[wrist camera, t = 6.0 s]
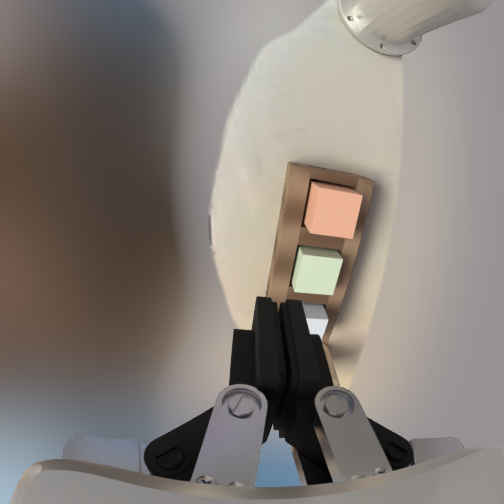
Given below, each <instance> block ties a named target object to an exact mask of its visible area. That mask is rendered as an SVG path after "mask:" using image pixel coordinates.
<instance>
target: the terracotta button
mask: <svg viewBox="0 0 504 504" xmlns="http://www.w3.org/2000/svg"><path fill="white" fill-rule="evenodd" d="M362 197H363V195H361V194H359V193H358V192H356V191H354V190H353V189H351V188H349V187H345V186H340V185H335V184H329V183H323V182H318V181H312V180H310V182H309V188H308V194H307V199H306V205H305V210H304V215H303V222H304V224H305V226H306V227H307V229H308V231H309V232H310V233H312V234H320V235H327V236H334V237H342V238H349V239H353V235H354V231H355V227H356V223H357V219H358V215H359V210H360V206H361V201H362Z"/></svg>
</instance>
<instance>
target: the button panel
mask: <svg viewBox="0 0 504 504" xmlns="http://www.w3.org/2000/svg"><path fill="white" fill-rule="evenodd" d="M310 180H312V181H318V182H323V183H329V184H335V185H340V186H345V187H349V188H351V189H353V190H354V191H356V192H358V193H359V194H361V195H363V197H362V201H361V206H360V210H359V215H358V219H357V223H356V227H355V231H354V235H353V239H349V238H342V237H334V236H327V235H320V234H312V233H310V232H309V231H308V229H307V227H306V226H305V224H304V222H303V215H304V210H305V205H306V199H307V194H308V188H309V182H310ZM373 186H374V181H372V180H370V179H368V178H365V177H363V176H359V175H355V174H350V173H345V172H341V171H336V170H330V169H325V168H320V167H314V166H309V165H303V164H297V163H290V162H288V166H287V172H286V178H285V185H284V191H283V197H282V204H281V210H280V216H279V222H278V228H277V234H276V240H275V246H274V252H273V257H272V263H271V269H270V275H269V280H268V286H267V291H266V297H270V298H272V302H277V307H278V311H279V306H280V303H281V302H285V301H286V299H295V300H301V301H302V302H304V303H317V304H323V306H324V309H325V312H326V314H327V317H328V319H329V320H328V323H327V326H326V329H325V332H324V334H323V337H322V340H321V341H322V343H328V341H329V338H330V335H331V333H332V330H333V327H334V324H335V321H336V319H337V316H338V313H339V310H340V307H341V304H342V301H343V298H344V295H345V292H346V288H347V285H348V282H349V279H350V276H351V272H352V269H353V266H354V262H355V259H356V255H357V252H358V248H359V244H360V241H361V237H362V233H363V229H364V225H365V221H366V217H367V213H368V209H369V204H370V200H371V195H372V191H373ZM297 245H305V246H313V247H321V248H329V249H336V250H337V251H338V252H339V254H340V255H341V257H342V258H343V262H342V265H341V269H340V272H339V276H338V279H337V283H336V286H335V289H334V293H333V295H323V294H311V293H299V292H294V289H293V285H292V281H291V273H292V268H293V264H294V259H295V254H296V249H297Z"/></svg>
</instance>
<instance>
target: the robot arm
mask: <svg viewBox="0 0 504 504" xmlns="http://www.w3.org/2000/svg"><path fill="white" fill-rule="evenodd" d="M491 1H492V0H338V8H339V13H340V16H341V18H342V21H343V22H344V24H345V26H346V27H347V28H348V30H349V31H350V32H351V33H352V34H353V35H354V36H355V37H356V38H357V39H358V40H359V41H360V42H362V43H363V44H364V45H366V46H367V47H369V48H371V49H373V50H375V51H377V52H379V53H382V54H386V55H392V56H399V55H404V54H407V53H410V52H411V51H413V50H415V49H416V48H417V46H418V45H419V43H420V41H421V38H422V34H425V33H427V32H430V31H432V30H434V29H437V28H439V27H442V26H445V25H447V24H450V23H452V22H455V21H458V20H461V19H463V18H466V17H469V16H472V15H476V14H479V13H481V12H483V11H484V10H486V9H487V8H488V6H489V5H490V4H491ZM349 20H350V21H349ZM272 424H273V427H274V430H279V438H285V441H286V442H287V443H289V444H290V445H291V446H292V447H291V448H292V454H293V458H294V461H295V465H296V468H297V472H298V475H299V479H300V482H301V486H292V487H255V481H256V475H257V470H258V464H259V458H260V452H261V446H262V444H263V443H265V442H266V441H267V438H268V435H269V433H270V430H271V427H272ZM9 504H504V447H502V446H499V445H476V446H471V447H467V448H464V446H463V444H462V443H461V441H459V440H458V439H457V438H454V437H445V438H425V439H411V440H410V441H407V440H406V439H404V438H403V437H401V436H399V435H398V434H396V433H394V432H392V431H390V430H389V429H387V428H385V427H383V426H382V425H380V424H378V423H376V422H375V421H373V420H371V419H369V418H368V417H367V416H366V414H365V412H364V410H363V408H362V406H361V405H360V402H359V400H358V399H357V397H356V396H355V395H354V394H353V393H352V392H351V391H350V390H348V389H345V388H343V387H338V386H334V384H333V380H332V376H331V373H330V369H329V366H328V362H327V358H326V355H325V351H324V348H323V344H322V341H321V338H320V335H318V334H310V331H309V328H308V324H307V320H306V316H305V312H304V308H303V304H302V301H301V300H295V299H286V301H285V302H281V303H280V306H279V311H278V307H277V302H272V298H270V297H259V296H257V298H256V304H255V310H254V317H253V324H252V330H242V329H234V333H233V342H232V354H231V365H230V379H229V386H228V387H226V388H224V389H223V390H222V391H221V392H220V393H219V395H218V397H217V399H216V402H215V405H214V407H212V408H210V409H209V410H207V411H205V412H204V413H202V414H200V415H199V416H197V417H195V418H193V419H192V420H190V421H188V422H186V423H185V424H183V425H181V426H179V427H177V428H176V429H174V430H172V431H170V432H168V433H166V434H165V435H163V436H161V437H159V438H157V439H155V440H153V441H152V442H139V441H138V440H132V439H131V440H130V439H114V438H103V437H94V436H84V435H76V436H73V437H71V438H69V439H68V440H67V441H66V443H65V445H64V448H63V455H62V459H50V460H43V461H39V462H36V463H34V464H33V465H32V466H30V467H29V468H28V469H27V470H26V471H25V473H24V474H23V476H22V477H21V479H20V480H19V482H18V484H17V486H16V488H15V491H14V493H13V495H12V498H11V500H10V503H9Z"/></svg>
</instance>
